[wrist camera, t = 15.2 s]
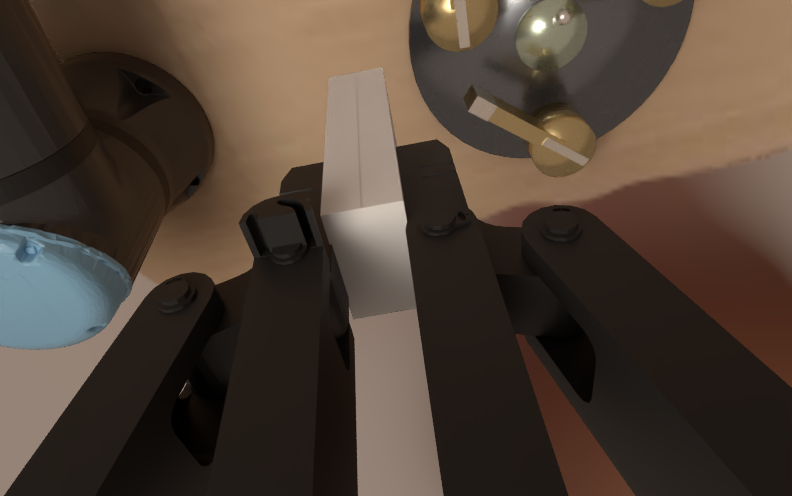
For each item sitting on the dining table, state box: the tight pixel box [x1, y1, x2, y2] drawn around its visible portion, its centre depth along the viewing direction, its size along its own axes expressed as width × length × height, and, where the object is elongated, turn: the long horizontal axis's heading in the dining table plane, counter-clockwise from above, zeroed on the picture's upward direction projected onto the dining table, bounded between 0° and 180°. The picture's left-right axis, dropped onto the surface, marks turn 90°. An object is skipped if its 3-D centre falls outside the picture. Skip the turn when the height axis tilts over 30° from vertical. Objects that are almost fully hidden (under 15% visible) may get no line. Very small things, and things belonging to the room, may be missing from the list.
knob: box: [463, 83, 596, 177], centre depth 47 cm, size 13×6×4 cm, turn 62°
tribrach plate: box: [409, 0, 694, 158], centre depth 45 cm, size 24×24×2 cm
